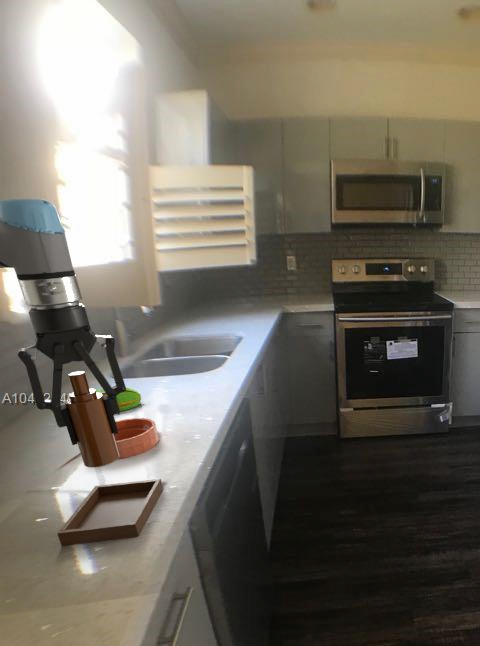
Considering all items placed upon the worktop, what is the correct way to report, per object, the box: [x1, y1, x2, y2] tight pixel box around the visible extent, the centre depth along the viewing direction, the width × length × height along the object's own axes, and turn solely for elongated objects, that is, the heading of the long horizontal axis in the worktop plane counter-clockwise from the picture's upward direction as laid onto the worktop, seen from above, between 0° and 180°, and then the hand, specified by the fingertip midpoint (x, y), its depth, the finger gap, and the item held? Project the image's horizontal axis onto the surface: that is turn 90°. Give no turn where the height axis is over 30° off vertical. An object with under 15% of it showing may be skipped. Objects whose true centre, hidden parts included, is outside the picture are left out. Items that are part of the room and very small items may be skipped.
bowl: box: [113, 417, 160, 460], centre depth 113 cm, size 14×14×5 cm
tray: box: [56, 478, 164, 547], centre depth 87 cm, size 16×13×3 cm
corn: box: [96, 387, 142, 412], centre depth 135 cm, size 7×8×20 cm
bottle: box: [64, 370, 120, 469], centre depth 80 cm, size 6×6×16 cm
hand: (95, 436), depth 81 cm, fingers closed on bottle, 6 cm apart
